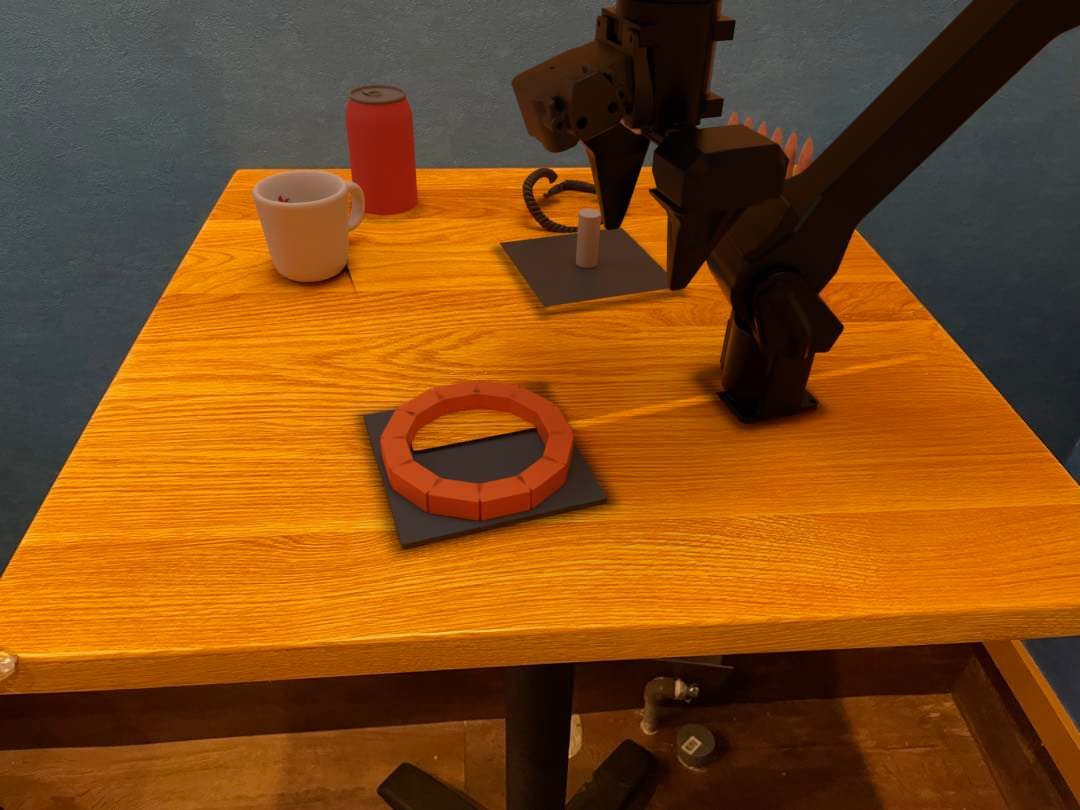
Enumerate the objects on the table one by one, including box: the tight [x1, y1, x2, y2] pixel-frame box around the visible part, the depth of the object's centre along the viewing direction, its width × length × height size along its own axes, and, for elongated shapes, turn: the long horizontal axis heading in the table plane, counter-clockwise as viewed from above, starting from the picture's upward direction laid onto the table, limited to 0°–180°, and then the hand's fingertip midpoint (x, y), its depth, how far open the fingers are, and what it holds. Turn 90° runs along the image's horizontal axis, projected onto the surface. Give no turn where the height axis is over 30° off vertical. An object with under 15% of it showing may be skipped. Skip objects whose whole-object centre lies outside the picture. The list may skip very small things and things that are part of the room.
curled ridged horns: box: [521, 167, 603, 234], centre depth 85 cm, size 13×5×10 cm
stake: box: [499, 208, 670, 308], centre depth 75 cm, size 13×13×6 cm
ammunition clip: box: [727, 110, 814, 179], centre depth 79 cm, size 11×2×12 cm, turn 37°
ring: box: [380, 379, 575, 521], centre depth 54 cm, size 12×12×2 cm
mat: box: [363, 408, 609, 550], centre depth 54 cm, size 13×13×1 cm
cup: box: [251, 169, 365, 283], centre depth 74 cm, size 11×8×8 cm
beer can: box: [344, 84, 419, 216], centre depth 83 cm, size 7×7×12 cm
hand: (642, 256), depth 53 cm, fingers open, 9 cm apart
